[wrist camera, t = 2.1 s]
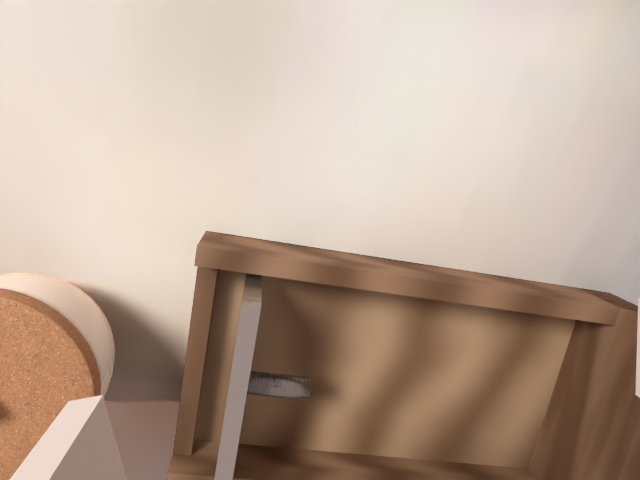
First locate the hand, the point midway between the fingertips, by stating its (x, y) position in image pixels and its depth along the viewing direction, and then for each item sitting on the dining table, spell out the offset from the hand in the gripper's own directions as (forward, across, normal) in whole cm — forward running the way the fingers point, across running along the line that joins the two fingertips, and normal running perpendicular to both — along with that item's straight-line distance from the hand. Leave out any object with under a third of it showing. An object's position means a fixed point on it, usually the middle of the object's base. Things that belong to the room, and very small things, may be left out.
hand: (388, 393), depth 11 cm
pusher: (+19, -4, -9) cm, 22 cm away
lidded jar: (+20, -18, -4) cm, 28 cm away
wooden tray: (+20, +5, -12) cm, 24 cm away
